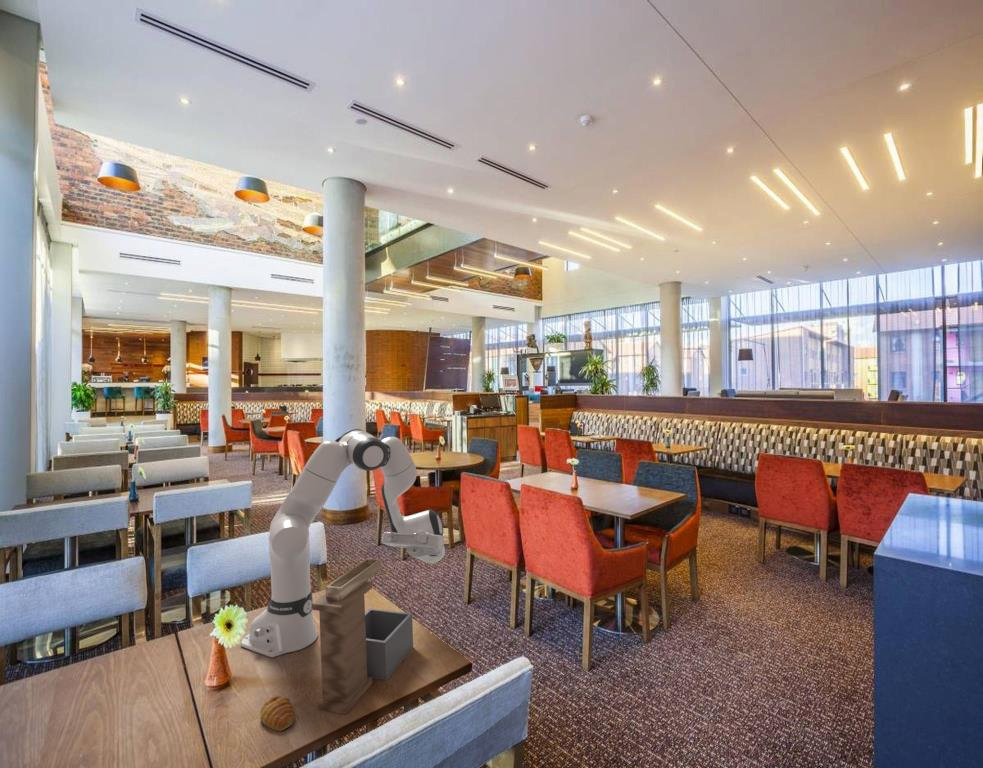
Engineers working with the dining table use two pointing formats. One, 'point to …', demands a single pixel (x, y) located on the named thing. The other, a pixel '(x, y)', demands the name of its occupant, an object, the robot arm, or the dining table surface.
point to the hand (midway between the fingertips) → (402, 535)
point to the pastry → (277, 713)
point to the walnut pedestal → (343, 650)
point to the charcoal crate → (387, 641)
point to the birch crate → (353, 579)
